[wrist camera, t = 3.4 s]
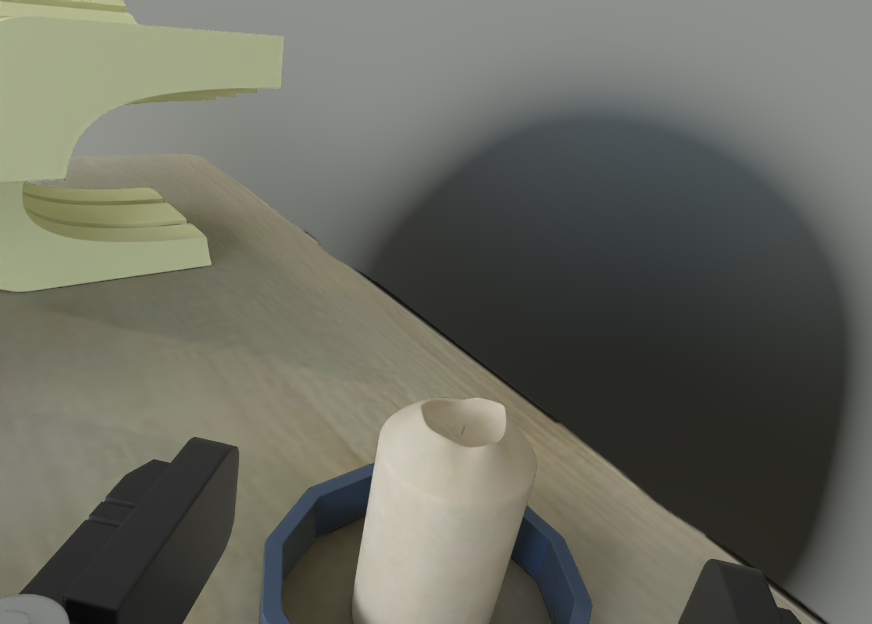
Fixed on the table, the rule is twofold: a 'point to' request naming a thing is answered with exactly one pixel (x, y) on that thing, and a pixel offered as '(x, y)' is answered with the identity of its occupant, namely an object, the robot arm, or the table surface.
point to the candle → (442, 513)
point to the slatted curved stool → (80, 106)
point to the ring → (349, 501)
